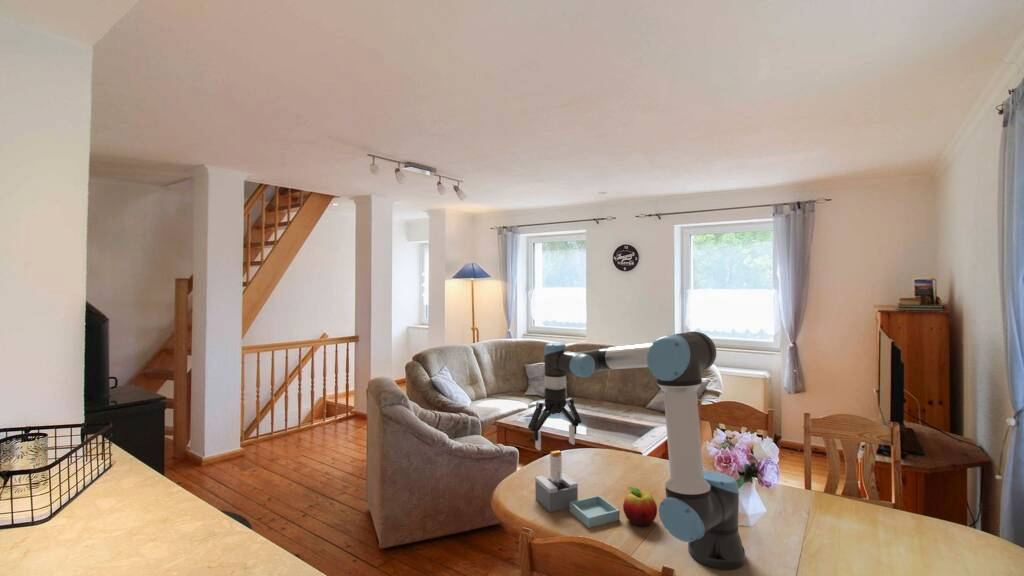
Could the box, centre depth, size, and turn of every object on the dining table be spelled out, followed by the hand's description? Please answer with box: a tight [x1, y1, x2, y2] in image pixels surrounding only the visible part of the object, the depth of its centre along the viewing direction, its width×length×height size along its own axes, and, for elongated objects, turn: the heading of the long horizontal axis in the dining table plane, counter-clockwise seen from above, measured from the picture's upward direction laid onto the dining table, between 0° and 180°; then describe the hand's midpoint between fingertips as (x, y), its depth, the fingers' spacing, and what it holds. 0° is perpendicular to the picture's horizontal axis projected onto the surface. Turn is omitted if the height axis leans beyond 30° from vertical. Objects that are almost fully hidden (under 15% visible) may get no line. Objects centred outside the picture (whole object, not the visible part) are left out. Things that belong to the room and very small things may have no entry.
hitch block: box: [534, 471, 579, 513], centre depth 171 cm, size 11×11×8 cm
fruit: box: [622, 486, 658, 527], centre depth 157 cm, size 11×11×10 cm
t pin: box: [549, 449, 563, 490], centre depth 171 cm, size 7×4×18 cm, turn 114°
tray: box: [568, 494, 621, 529], centre depth 162 cm, size 12×12×3 cm
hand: (555, 446), depth 171 cm, fingers open, 13 cm apart
